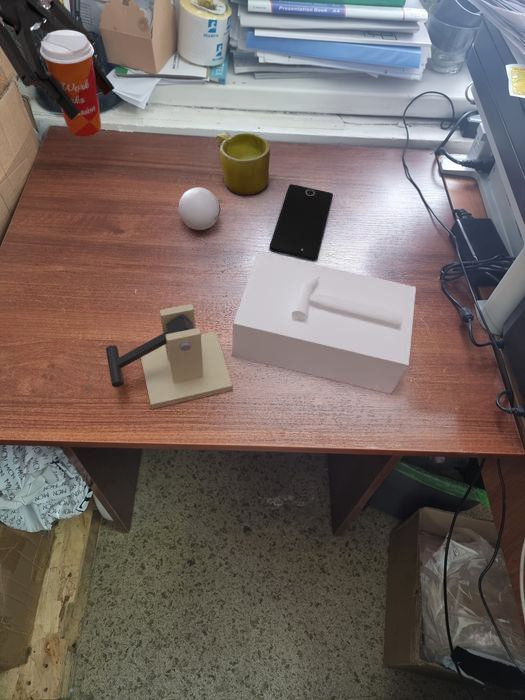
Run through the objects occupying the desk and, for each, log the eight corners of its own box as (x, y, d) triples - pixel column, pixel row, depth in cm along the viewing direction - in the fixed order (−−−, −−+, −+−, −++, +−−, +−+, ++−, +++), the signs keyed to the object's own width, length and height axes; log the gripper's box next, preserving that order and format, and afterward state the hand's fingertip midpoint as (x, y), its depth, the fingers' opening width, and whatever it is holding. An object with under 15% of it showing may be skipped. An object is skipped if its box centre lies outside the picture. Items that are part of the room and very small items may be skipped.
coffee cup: (54, 135, 91) (28, 49, 79) (71, 110, 96) (49, 24, 83) (99, 143, 91) (81, 58, 78) (114, 117, 95) (99, 33, 83)
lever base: (151, 409, 73) (140, 363, 62) (139, 352, 78) (127, 300, 67) (232, 390, 75) (234, 343, 64) (215, 336, 80) (215, 284, 69)
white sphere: (213, 242, 91) (212, 211, 85) (173, 233, 92) (170, 201, 85) (229, 206, 96) (230, 174, 90) (192, 197, 97) (190, 165, 91)
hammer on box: (254, 286, 86) (258, 240, 77) (399, 320, 85) (421, 277, 75) (231, 355, 78) (233, 313, 69) (390, 394, 77) (414, 356, 68)
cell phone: (332, 196, 100) (333, 192, 99) (316, 262, 90) (317, 258, 89) (289, 187, 100) (289, 183, 100) (268, 250, 91) (268, 247, 90)
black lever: (118, 389, 69) (107, 384, 67) (112, 353, 72) (101, 347, 70) (199, 346, 66) (189, 339, 64) (189, 310, 69) (179, 303, 67)
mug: (288, 181, 98) (273, 137, 90) (244, 210, 98) (226, 168, 90) (258, 155, 106) (242, 113, 98) (217, 182, 105) (198, 141, 97)
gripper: (31, -39, 86) (121, 86, 96) (-72, 6, 75) (42, 142, 85) (46, -68, 80) (141, 67, 90) (-62, -24, 70) (58, 124, 80)
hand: (93, 103), depth 88 cm, fingers closed on coffee cup, 8 cm apart
